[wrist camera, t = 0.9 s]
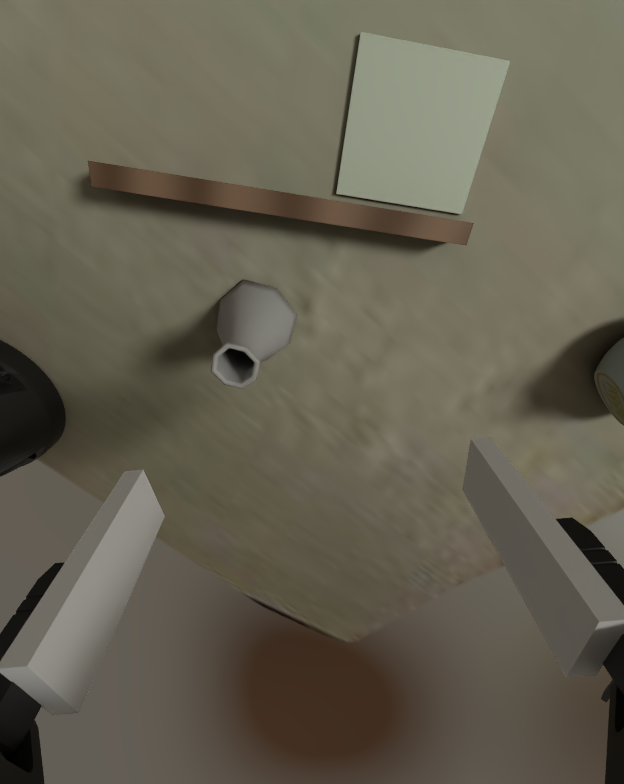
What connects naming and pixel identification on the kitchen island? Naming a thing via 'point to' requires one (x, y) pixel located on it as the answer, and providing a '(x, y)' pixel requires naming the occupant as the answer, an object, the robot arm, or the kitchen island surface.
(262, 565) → the kitchen island surface
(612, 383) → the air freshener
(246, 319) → the flask
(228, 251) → the kitchen island surface
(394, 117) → the board
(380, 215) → the rail
